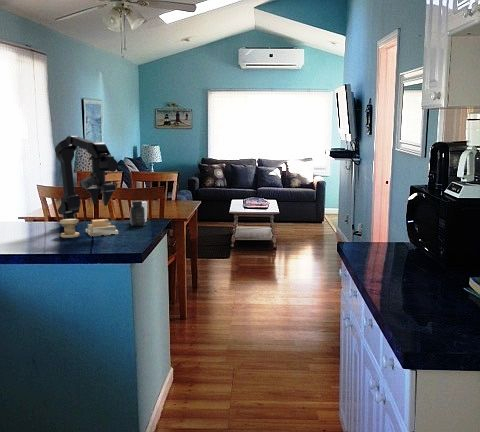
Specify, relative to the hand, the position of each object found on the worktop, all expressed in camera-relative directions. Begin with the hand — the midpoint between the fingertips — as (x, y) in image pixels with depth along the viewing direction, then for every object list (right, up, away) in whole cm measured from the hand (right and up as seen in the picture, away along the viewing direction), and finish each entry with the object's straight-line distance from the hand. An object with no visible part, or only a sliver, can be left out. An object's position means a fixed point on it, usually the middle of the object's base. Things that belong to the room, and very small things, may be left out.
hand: (99, 204), depth 254 cm
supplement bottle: (+14, -10, +18) cm, 25 cm away
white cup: (+13, -8, +29) cm, 33 cm away
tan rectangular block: (+1, -11, -1) cm, 11 cm away
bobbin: (-11, -14, -7) cm, 19 cm away
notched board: (+1, -13, 0) cm, 13 cm away
